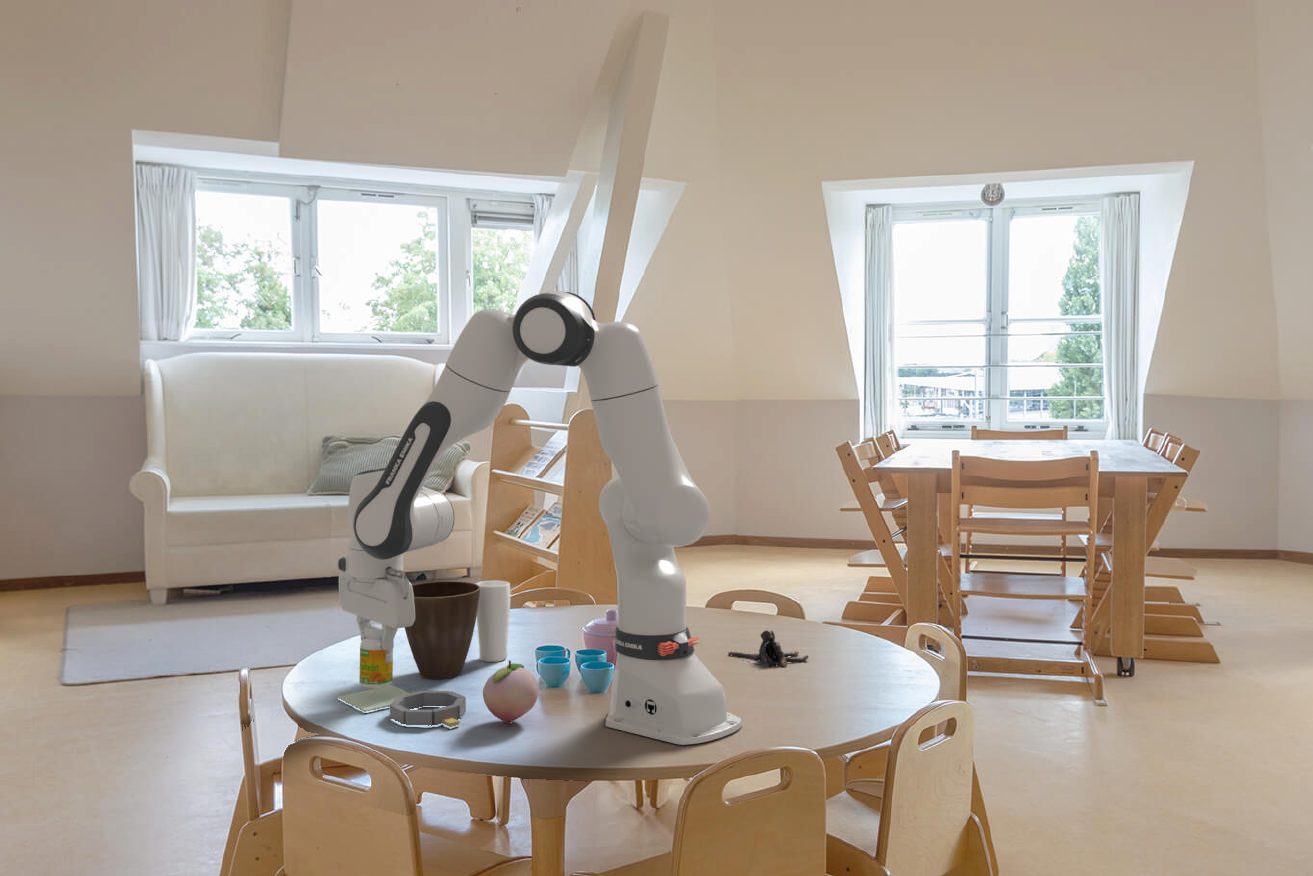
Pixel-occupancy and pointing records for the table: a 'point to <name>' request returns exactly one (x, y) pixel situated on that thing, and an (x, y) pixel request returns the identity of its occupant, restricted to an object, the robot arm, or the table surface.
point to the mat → (373, 698)
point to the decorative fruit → (510, 692)
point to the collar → (429, 717)
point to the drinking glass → (493, 620)
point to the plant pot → (442, 626)
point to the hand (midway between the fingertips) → (376, 645)
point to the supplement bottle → (375, 660)
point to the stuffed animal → (770, 653)
